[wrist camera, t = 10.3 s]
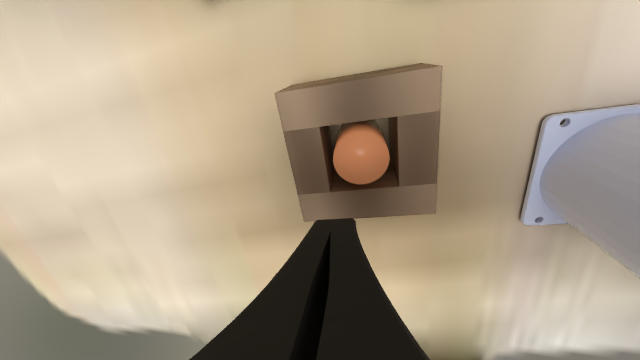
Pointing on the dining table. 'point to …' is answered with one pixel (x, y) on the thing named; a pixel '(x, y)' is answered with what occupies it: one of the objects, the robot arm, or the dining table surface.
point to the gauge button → (360, 152)
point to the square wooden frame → (361, 105)
